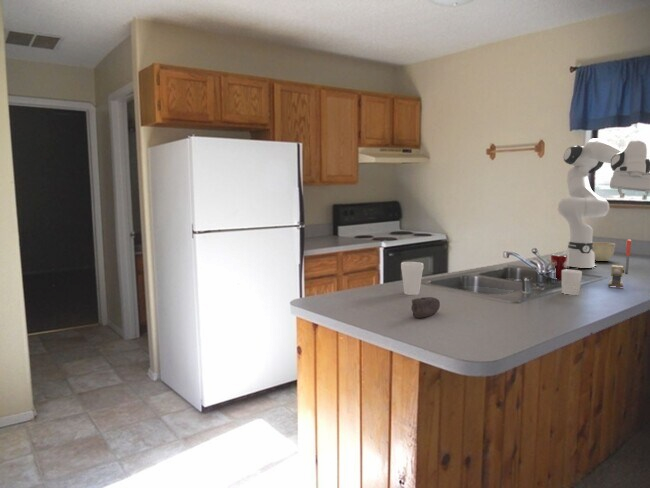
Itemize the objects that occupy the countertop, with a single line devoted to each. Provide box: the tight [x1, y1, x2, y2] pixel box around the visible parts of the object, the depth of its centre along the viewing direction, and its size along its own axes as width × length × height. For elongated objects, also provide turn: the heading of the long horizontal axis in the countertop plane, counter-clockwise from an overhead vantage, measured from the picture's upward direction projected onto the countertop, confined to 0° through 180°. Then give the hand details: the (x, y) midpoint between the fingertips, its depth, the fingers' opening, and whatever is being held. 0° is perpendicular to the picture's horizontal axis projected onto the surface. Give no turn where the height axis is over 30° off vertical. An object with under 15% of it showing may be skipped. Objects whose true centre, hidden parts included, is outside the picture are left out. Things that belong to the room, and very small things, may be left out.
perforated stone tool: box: [410, 296, 441, 319], centre depth 178 cm, size 15×5×7 cm, turn 129°
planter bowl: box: [592, 241, 616, 262], centre depth 301 cm, size 16×16×11 cm
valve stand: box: [608, 264, 625, 288], centre depth 229 cm, size 10×6×9 cm, turn 150°
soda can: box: [550, 253, 568, 281], centre depth 246 cm, size 7×7×12 cm
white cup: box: [561, 268, 583, 295], centre depth 212 cm, size 8×8×10 cm
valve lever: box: [624, 239, 632, 275], centre depth 226 cm, size 2×2×16 cm
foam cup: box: [400, 261, 425, 296], centre depth 213 cm, size 10×9×13 cm
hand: (633, 198), depth 236 cm, fingers open, 8 cm apart
